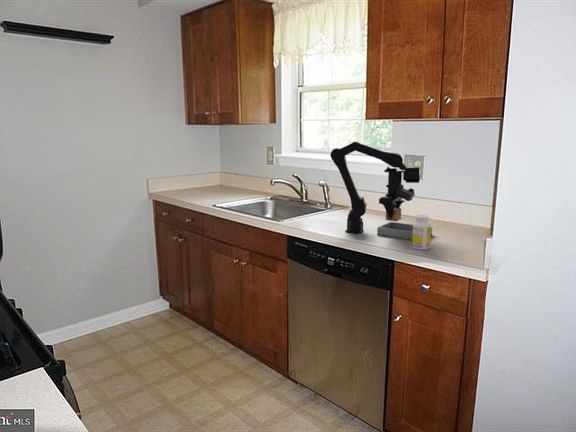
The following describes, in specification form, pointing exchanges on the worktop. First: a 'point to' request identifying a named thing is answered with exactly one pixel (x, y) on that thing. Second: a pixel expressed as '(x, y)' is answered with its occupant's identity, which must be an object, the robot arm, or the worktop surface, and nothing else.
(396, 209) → the walnut cube
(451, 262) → the worktop surface
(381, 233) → the box
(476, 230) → the worktop surface
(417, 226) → the supplement bottle
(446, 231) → the worktop surface
